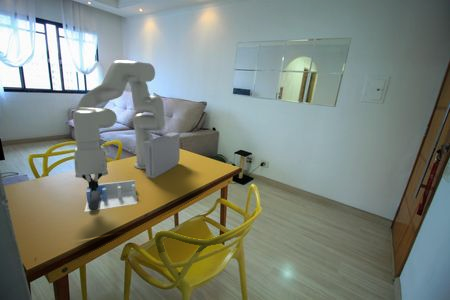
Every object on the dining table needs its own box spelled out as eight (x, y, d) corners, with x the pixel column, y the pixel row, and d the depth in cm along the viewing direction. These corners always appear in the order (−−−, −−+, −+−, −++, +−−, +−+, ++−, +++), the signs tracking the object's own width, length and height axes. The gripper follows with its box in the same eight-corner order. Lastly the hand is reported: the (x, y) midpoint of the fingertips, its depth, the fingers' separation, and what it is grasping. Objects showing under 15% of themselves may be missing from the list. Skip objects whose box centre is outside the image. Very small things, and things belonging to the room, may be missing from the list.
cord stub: (94, 198, 93) (89, 193, 91) (101, 194, 94) (97, 189, 92) (91, 211, 84) (86, 206, 83) (99, 207, 85) (95, 201, 84)
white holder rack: (89, 193, 97) (88, 182, 96) (135, 187, 105) (134, 177, 104) (84, 212, 83) (82, 200, 82) (137, 204, 91) (136, 192, 90)
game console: (144, 177, 117) (142, 141, 111) (171, 161, 142) (171, 132, 136) (153, 179, 115) (152, 143, 109) (179, 163, 140) (179, 133, 134)
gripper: (112, 141, 86) (115, 183, 91) (66, 142, 79) (72, 187, 85) (111, 146, 79) (115, 191, 84) (61, 148, 73) (69, 197, 78)
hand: (94, 189), depth 85 cm, fingers closed
